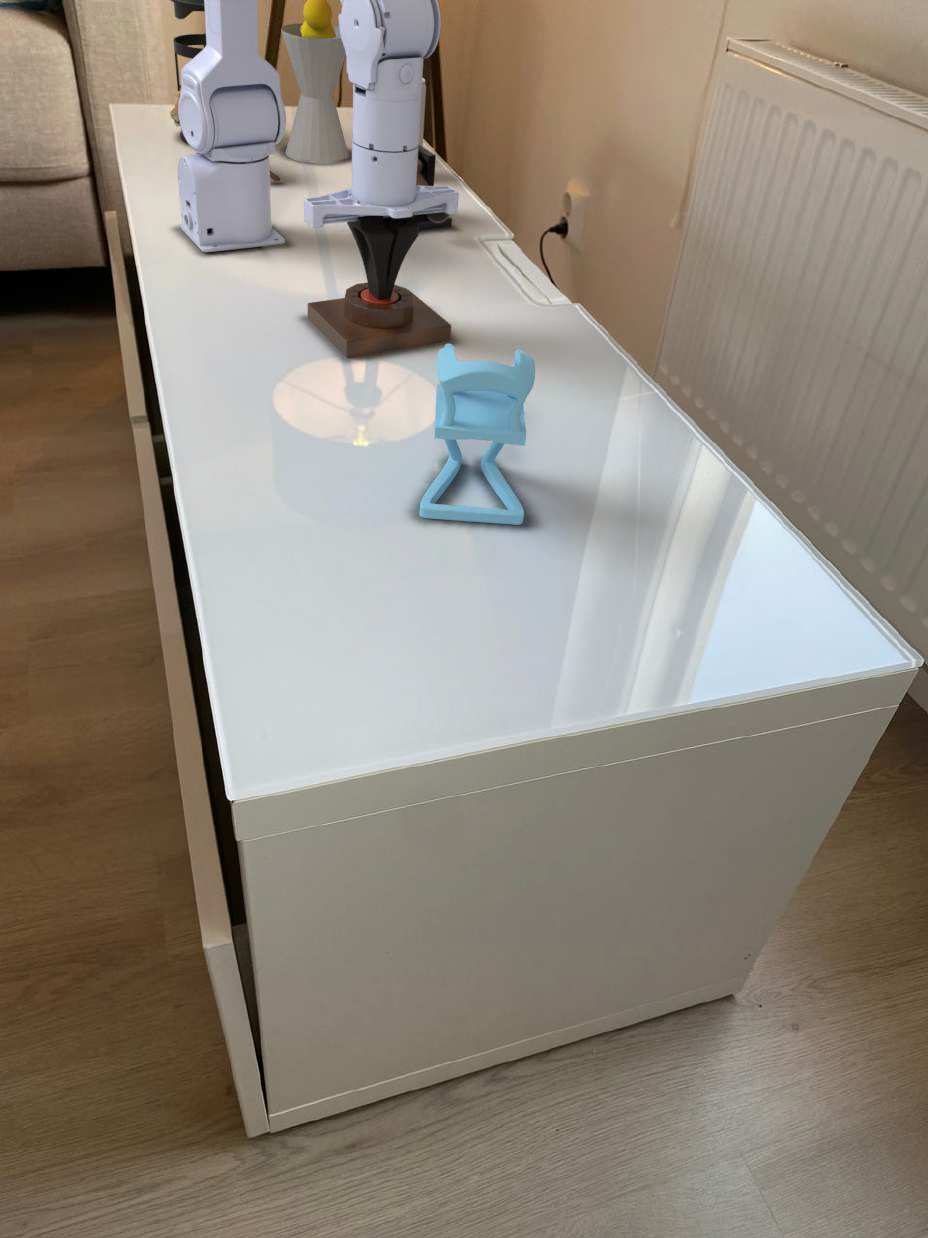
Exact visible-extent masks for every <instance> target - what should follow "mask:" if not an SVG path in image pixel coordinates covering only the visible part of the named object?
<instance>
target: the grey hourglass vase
mask: <svg viewBox="0 0 928 1238" xmlns="http://www.w3.org/2000/svg"><path fill="white" fill-rule="evenodd" d="M302 13H303V18H304V21H303V22H301V23H289V24H286V25H282V27H281V29H280V31H281V35H282V38H283V41H284V44H285V47H286V50H287V54H288V57H289V59H290V60H289V61H290V64H291V66H292V70H293V74H294V76H295V79H296V82H297V85H298V88H299V92H300V97H299V100H298V104H297V107H296V108H297V109H296V111H295V116H294V118H293V124H292V127H291V130H290V134H289V138H288V142H287V145H286V149H285V155H286V156H287V157H288V158H289V159H291V160H294V161H297V162H300V163H305V162H306V163H307V162H310V163H311V162H312V163H334V162H335V163H336V162H339V161H343V160H347V159H349V158H350V154H349V150H348V147H347V146H348V145H347V142H346V138H345V135H344V131H343V128H342V123H341V121H340V117H339V112H338V109H337V105H336V101H335V98H334V95H335V92H336V88H337V85H338V81H339V79H340V75H341V73H342V69H343V67H344V66H343V65H344V62H345V59H346V52H345V48H344V45H343V42H342V39H341V35H340V29H339V26H335V25H332V18H333V12H332V7H331V4H330V3H329V2H328V0H306V2H305V3H304V5H303V11H302Z"/></svg>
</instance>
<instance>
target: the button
mask: <svg viewBox="0 0 928 1238" xmlns="http://www.w3.org/2000/svg"><path fill="white" fill-rule="evenodd" d="M361 300H362V301H364V302H367V303H370V304H376V305H390V304H395V303H397V302H399V296H398V294H397V293H396V292H395V291H392V295H391V298H389V299H382V300H377V299H376V298H375V297H374V296H373V295H372V294H371V293H370V292H369V289H365V290H364V291H362V292H361Z"/></svg>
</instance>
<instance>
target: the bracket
mask: <svg viewBox="0 0 928 1238" xmlns="http://www.w3.org/2000/svg"><path fill="white" fill-rule="evenodd" d="M436 158H437V155H436V154H434V153H433V152H431V151H430V150H428V149H426V148H424V146H423V147H422V146H420V145H418V159H419V160H420V161H421V163H422V164H423V165H422V170H421V176H422V177H423V179H424V180H425V181H426V183H427V184H428V185H429V186H435V173H436V160H437V159H436ZM413 220H414V221H415V222H417V223H418V224H419V231H425V230H435V229H443V228H451V227H452V226H453V225H452V224H453V218H452V217H451V216H449V217H448V218H447V219H446V220H445V221H443V222H440V223H435V222H432V221H431V220H429V219H428V218H427V216H426V214H419V215H413Z"/></svg>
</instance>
